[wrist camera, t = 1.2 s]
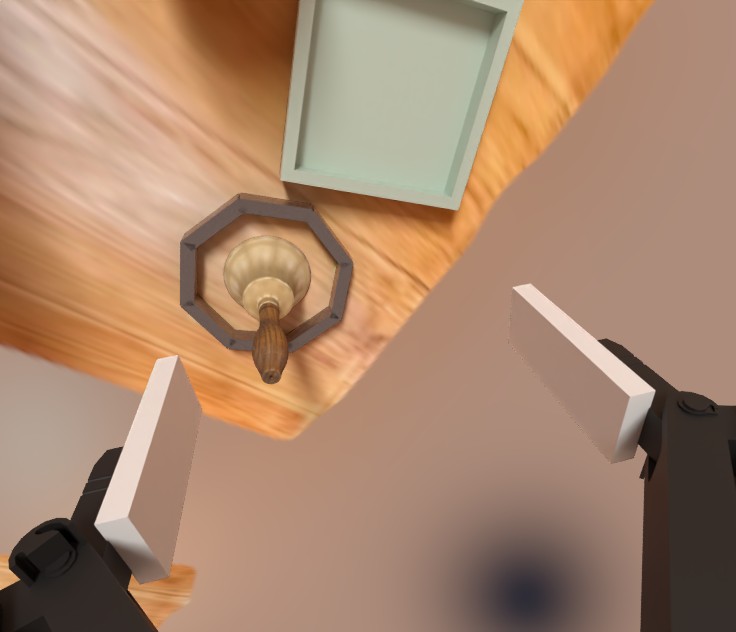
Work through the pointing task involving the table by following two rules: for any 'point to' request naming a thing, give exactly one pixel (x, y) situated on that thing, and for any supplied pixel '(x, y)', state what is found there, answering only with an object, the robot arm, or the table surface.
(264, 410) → the table surface
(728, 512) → the robot arm
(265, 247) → the hand bell
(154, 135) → the table surface
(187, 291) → the collar
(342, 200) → the table surface
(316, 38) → the green square tray
